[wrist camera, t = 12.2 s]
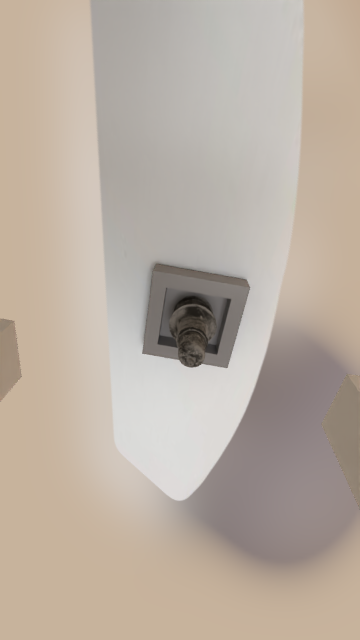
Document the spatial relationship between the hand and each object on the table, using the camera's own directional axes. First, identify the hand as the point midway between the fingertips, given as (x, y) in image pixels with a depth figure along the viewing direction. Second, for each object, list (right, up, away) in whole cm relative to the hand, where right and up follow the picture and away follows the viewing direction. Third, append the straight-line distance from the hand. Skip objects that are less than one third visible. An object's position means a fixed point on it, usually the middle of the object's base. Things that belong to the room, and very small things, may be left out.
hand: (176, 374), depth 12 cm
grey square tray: (+2, +3, +28) cm, 29 cm away
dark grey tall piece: (+2, +3, +28) cm, 28 cm away
